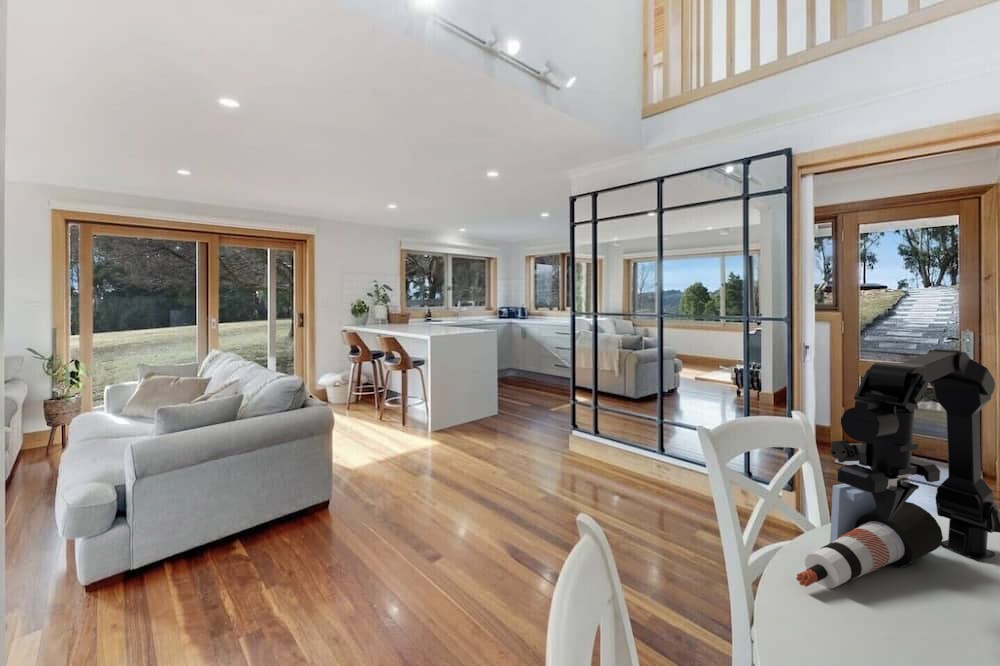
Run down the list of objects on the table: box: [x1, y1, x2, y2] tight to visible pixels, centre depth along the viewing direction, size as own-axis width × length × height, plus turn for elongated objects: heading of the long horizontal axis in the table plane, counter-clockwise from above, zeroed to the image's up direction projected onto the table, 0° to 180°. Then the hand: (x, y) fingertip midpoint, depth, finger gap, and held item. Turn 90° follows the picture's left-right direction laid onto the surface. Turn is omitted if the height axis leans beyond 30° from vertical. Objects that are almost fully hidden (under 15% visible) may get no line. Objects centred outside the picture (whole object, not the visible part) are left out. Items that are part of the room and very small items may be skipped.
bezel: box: [829, 483, 877, 543], centre depth 97 cm, size 14×4×14 cm, turn 109°
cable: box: [795, 501, 944, 589], centre depth 89 cm, size 10×34×10 cm, turn 112°
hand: (885, 520), depth 82 cm, fingers closed
